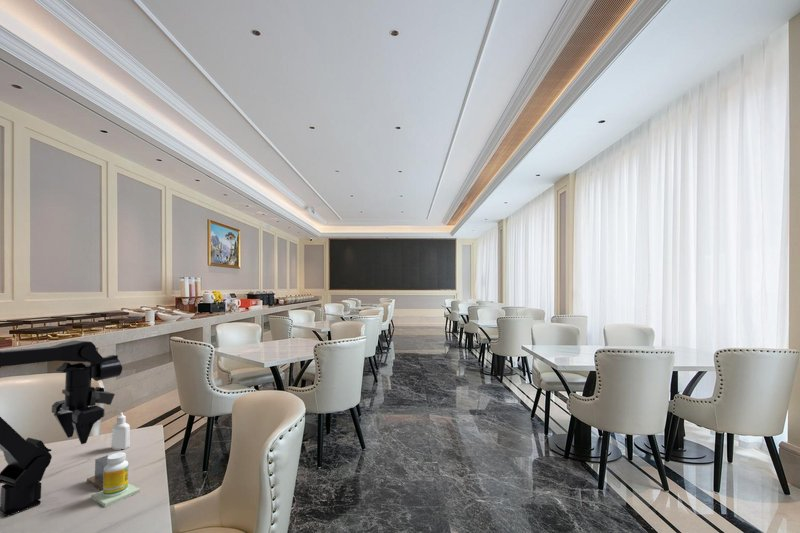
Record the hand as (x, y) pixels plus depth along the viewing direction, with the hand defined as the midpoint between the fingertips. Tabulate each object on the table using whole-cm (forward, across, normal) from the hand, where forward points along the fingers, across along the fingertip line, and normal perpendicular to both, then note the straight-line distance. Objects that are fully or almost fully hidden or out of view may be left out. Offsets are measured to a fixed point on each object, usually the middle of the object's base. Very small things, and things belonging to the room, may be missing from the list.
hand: (76, 440), depth 108 cm
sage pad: (+12, -17, -3) cm, 21 cm away
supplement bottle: (+11, -17, -3) cm, 21 cm away
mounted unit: (+12, -7, -5) cm, 15 cm away
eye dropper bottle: (+12, +16, -18) cm, 27 cm away
